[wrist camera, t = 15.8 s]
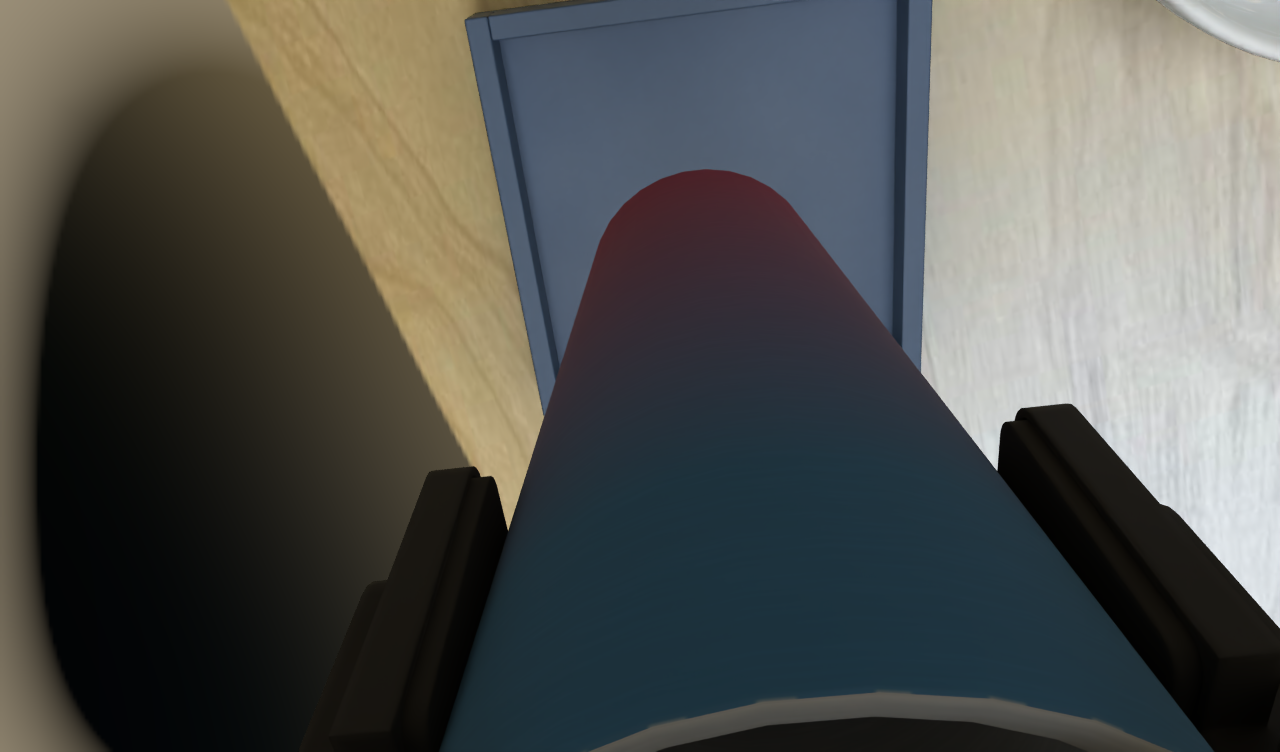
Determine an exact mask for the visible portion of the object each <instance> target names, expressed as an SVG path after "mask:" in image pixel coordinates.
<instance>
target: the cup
mask: <svg viewBox="0 0 1280 752" xmlns="http://www.w3.org/2000/svg"><path fill="white" fill-rule="evenodd" d="M439 752H1214V751H1213V749H1212V748H1211V747H1210V746H1209V744H1208V743H1207V742H1206V740H1205V739H1204V738H1203V736H1202V735H1201V734H1200V733H1199V731H1198V730H1197V729H1196V727H1195V726H1194V725H1193V724H1192V722H1191V721H1190V720H1189V718H1188V717H1187V716H1186V715H1185V713H1184V712H1183V711H1182V709H1181V708H1180V707H1179V706H1178V704H1177V703H1176V702H1175V700H1174V699H1173V698H1172V696H1171V695H1170V694H1169V693H1168V691H1167V690H1166V689H1165V687H1164V686H1163V685H1162V684H1161V682H1160V681H1159V680H1158V678H1157V677H1156V676H1155V675H1154V673H1153V672H1152V671H1151V669H1150V668H1149V667H1148V665H1147V664H1146V663H1145V662H1144V660H1143V659H1142V658H1141V656H1140V655H1139V654H1138V653H1137V651H1136V650H1135V649H1134V647H1133V646H1132V645H1131V644H1130V642H1129V641H1128V640H1127V638H1126V637H1125V636H1124V634H1123V633H1122V632H1121V631H1120V629H1119V628H1118V627H1117V625H1116V624H1115V623H1114V622H1113V620H1112V619H1111V618H1110V616H1109V615H1108V614H1107V613H1106V611H1105V610H1104V609H1103V607H1102V606H1101V605H1100V604H1099V602H1098V601H1097V600H1096V598H1095V597H1094V596H1093V594H1092V593H1091V592H1090V591H1089V589H1088V588H1087V587H1086V585H1085V584H1084V583H1083V582H1082V580H1081V579H1080V578H1079V576H1078V575H1077V574H1076V573H1075V571H1074V570H1073V569H1072V567H1071V566H1070V565H1069V563H1068V562H1067V561H1066V560H1065V558H1064V557H1063V556H1062V554H1061V553H1060V552H1059V551H1058V549H1057V548H1056V547H1055V545H1054V544H1053V543H1052V542H1051V540H1050V539H1049V538H1048V536H1047V535H1046V534H1045V532H1044V531H1043V530H1042V529H1041V527H1040V526H1039V525H1038V523H1037V522H1036V521H1035V520H1034V518H1033V517H1032V516H1031V514H1030V513H1029V512H1028V511H1027V509H1026V508H1025V507H1024V505H1023V504H1022V503H1021V502H1020V500H1019V499H1018V498H1017V496H1016V495H1015V494H1014V492H1013V491H1012V490H1011V489H1010V487H1009V486H1008V485H1007V483H1006V482H1005V481H1004V480H1003V478H1002V477H1001V476H1000V474H999V473H998V472H997V471H996V469H995V468H994V467H993V465H992V464H991V463H990V461H989V460H988V459H987V458H986V456H985V455H984V454H983V452H982V451H981V450H980V449H979V447H978V446H977V445H976V443H975V442H974V441H973V440H972V438H971V437H970V436H969V434H968V433H967V432H966V430H965V429H964V428H963V427H962V425H961V424H960V423H959V421H958V420H957V419H956V418H955V416H954V415H953V414H952V412H951V411H950V410H949V409H948V407H947V406H946V405H945V403H944V402H943V401H942V400H941V398H940V397H939V396H938V394H937V393H936V392H935V390H934V389H933V388H932V387H931V385H930V384H929V383H928V381H927V380H926V379H925V378H924V376H923V375H922V374H921V372H920V371H919V370H918V369H917V367H916V366H915V365H914V363H913V362H912V361H911V359H910V358H909V357H908V356H907V354H906V353H905V352H904V350H903V349H902V348H901V347H900V345H899V344H898V343H897V341H896V340H895V339H894V338H893V336H892V335H891V334H890V332H889V331H888V330H887V328H886V327H885V326H884V325H883V323H882V322H881V321H880V319H879V318H878V317H877V316H876V314H875V313H874V312H873V310H872V309H871V308H870V307H869V305H868V304H867V303H866V301H865V300H864V299H863V297H862V296H861V295H860V294H859V292H858V291H857V290H856V288H855V287H854V286H853V285H852V283H851V282H850V281H849V279H848V278H847V277H846V276H845V274H844V273H843V272H842V270H841V269H840V268H839V267H838V265H837V264H836V263H835V261H834V260H833V259H832V257H831V256H830V255H829V254H828V252H827V251H826V250H825V248H824V247H823V246H822V245H821V243H820V242H819V241H818V239H817V238H816V237H815V236H814V234H813V233H812V232H811V230H810V229H809V228H808V226H807V225H806V224H805V223H804V221H803V220H802V219H801V217H800V216H799V215H798V214H797V212H796V211H795V210H794V209H793V207H792V206H791V205H790V204H789V202H788V201H787V200H786V199H784V198H783V197H782V196H781V195H779V194H778V193H777V192H776V191H775V190H773V189H772V188H771V187H769V186H767V185H765V184H763V183H761V182H759V181H758V180H756V179H754V178H752V177H749V176H745V175H742V174H738V173H735V172H731V171H725V170H712V169H702V170H693V171H685V172H680V173H677V174H674V175H671V176H668V177H665V178H662V179H659V180H658V181H656V182H654V183H652V184H650V185H649V186H647V187H645V188H643V189H641V190H640V191H639V192H638V193H636V194H635V195H634V196H633V197H632V198H630V199H629V200H628V201H627V202H626V203H624V204H623V205H622V207H621V208H620V209H619V210H618V212H617V213H616V214H615V215H614V217H613V218H612V219H611V220H610V222H609V224H608V226H607V228H606V230H605V232H604V234H603V236H602V237H601V239H600V242H599V245H598V248H597V251H596V254H595V258H594V261H593V264H592V267H591V270H590V274H589V277H588V280H587V283H586V286H585V289H584V293H583V296H582V299H581V302H580V305H579V308H578V312H577V315H576V318H575V321H574V324H573V327H572V331H571V334H570V337H569V340H568V343H567V347H566V350H565V353H564V356H563V359H562V362H561V366H560V369H559V372H558V375H557V378H556V381H555V385H554V388H553V391H552V394H551V397H550V400H549V404H548V407H547V410H546V413H545V416H544V420H543V423H542V426H541V429H540V432H539V435H538V439H537V442H536V445H535V448H534V451H533V454H532V458H531V461H530V464H529V467H528V470H527V474H526V477H525V480H524V483H523V486H522V489H521V493H520V496H519V499H518V502H517V505H516V508H515V512H514V515H513V518H512V521H511V524H510V527H509V531H508V534H507V537H506V540H505V543H504V547H503V550H502V553H501V556H500V559H499V562H498V566H497V569H496V572H495V575H494V578H493V581H492V585H491V588H490V591H489V594H488V597H487V601H486V604H485V607H484V610H483V613H482V616H481V620H480V623H479V626H478V629H477V632H476V635H475V639H474V642H473V645H472V648H471V651H470V654H469V658H468V661H467V664H466V667H465V670H464V674H463V677H462V680H461V683H460V686H459V689H458V693H457V696H456V699H455V702H454V705H453V708H452V712H451V715H450V718H449V721H448V724H447V728H446V731H445V734H444V737H443V740H442V743H441V747H440V750H439Z"/></svg>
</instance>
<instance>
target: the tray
mask: <svg viewBox="0 0 1280 752" xmlns="http://www.w3.org/2000/svg"><path fill="white" fill-rule="evenodd" d="M465 26H466V31H467V36H468V41H469V46H470V51H471V56H472V61H473V66H474V71H475V76H476V81H477V86H478V91H479V96H480V101H481V106H482V111H483V116H484V121H485V126H486V131H487V136H488V141H489V146H490V151H491V156H492V161H493V166H494V171H495V175H496V180H497V185H498V190H499V195H500V200H501V205H502V210H503V215H504V220H505V225H506V230H507V235H508V240H509V245H510V250H511V255H512V260H513V265H514V270H515V275H516V280H517V285H518V290H519V295H520V300H521V305H522V310H523V315H524V320H525V325H526V330H527V335H528V340H529V345H530V350H531V355H532V360H533V365H534V370H535V375H536V380H537V385H538V390H539V395H540V400H541V405H542V410H543V415H544V416H545V413H546V410H547V407H548V404H549V400H550V397H551V394H552V391H553V388H554V385H555V381H556V378H557V375H558V372H559V369H560V366H561V362H562V359H563V356H564V353H565V350H566V347H567V343H568V340H569V337H570V334H571V331H572V327H573V324H574V321H575V318H576V315H577V312H578V308H579V305H580V302H581V299H582V296H583V293H584V289H585V286H586V283H587V280H588V277H589V274H590V270H591V267H592V264H593V261H594V258H595V254H596V251H597V248H598V245H599V242H600V239H601V237H602V236H603V234H604V232H605V230H606V228H607V226H608V224H609V222H610V220H611V219H612V218H613V217H614V215H615V214H616V213H617V212H618V210H619V209H620V208H621V207H622V205H623V204H624V203H626V202H627V201H628V200H629V199H630V198H632V197H633V196H634V195H635V194H636V193H638V192H639V191H640V190H641V189H643V188H645V187H647V186H649V185H650V184H652V183H654V182H656V181H658V180H659V179H662V178H665V177H668V176H671V175H674V174H677V173H680V172H685V171H693V170H702V169H712V170H725V171H731V172H735V173H738V174H742V175H745V176H749V177H752V178H754V179H756V180H758V181H759V182H761V183H763V184H765V185H767V186H769V187H771V188H772V189H773V190H775V191H776V192H777V193H778V194H779V195H781V196H782V197H783V198H784V199H786V200H787V201H788V202H789V204H790V205H791V206H792V207H793V209H794V210H795V211H796V212H797V214H798V215H799V216H800V217H801V219H802V220H803V221H804V223H805V224H806V225H807V226H808V228H809V229H810V230H811V232H812V233H813V234H814V236H815V237H816V238H817V239H818V241H819V242H820V243H821V245H822V246H823V247H824V248H825V250H826V251H827V252H828V254H829V255H830V256H831V257H832V259H833V260H834V261H835V263H836V264H837V265H838V267H839V268H840V269H841V270H842V272H843V273H844V274H845V276H846V277H847V278H848V279H849V281H850V282H851V283H852V285H853V286H854V287H855V288H856V290H857V291H858V292H859V294H860V295H861V296H862V297H863V299H864V300H865V301H866V303H867V304H868V305H869V307H870V308H871V309H872V310H873V312H874V313H875V314H876V316H877V317H878V318H879V319H880V321H881V322H882V323H883V325H884V326H885V327H886V328H887V330H888V331H889V332H890V334H891V335H892V336H893V338H894V339H895V340H896V341H897V343H898V344H899V345H900V347H901V348H902V349H903V350H904V352H905V353H906V354H907V356H908V357H909V358H910V359H911V361H912V362H913V363H914V365H915V366H916V367H917V369H918V370H919V371H920V372H921V348H922V316H923V284H924V252H925V220H926V188H927V156H928V124H929V92H930V60H931V28H932V0H571V1H563V2H555V3H548V4H540V5H533V6H525V7H518V8H510V9H502V10H495V11H487V12H480V13H475V14H473V15H472V16H470V17H468V18H467V19H465Z"/></svg>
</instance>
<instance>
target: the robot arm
mask: <svg viewBox="0 0 1280 752" xmlns="http://www.w3.org/2000/svg"><path fill="white" fill-rule="evenodd" d="M997 472H998V473H999V474H1000V476H1001V477H1002V478H1003V480H1004V481H1005V482H1006V483H1007V485H1008V486H1009V487H1010V489H1011V490H1012V491H1013V492H1014V494H1015V495H1016V496H1017V498H1018V499H1019V500H1020V502H1021V503H1022V504H1023V505H1024V507H1025V508H1026V509H1027V511H1028V512H1029V513H1030V514H1031V516H1032V517H1033V518H1034V520H1035V521H1036V522H1037V523H1038V525H1039V526H1040V527H1041V529H1042V530H1043V531H1044V532H1045V534H1046V535H1047V536H1048V538H1049V539H1050V540H1051V542H1052V543H1053V544H1054V545H1055V547H1056V548H1057V549H1058V551H1059V552H1060V553H1061V554H1062V556H1063V557H1064V558H1065V560H1066V561H1067V562H1068V563H1069V565H1070V566H1071V567H1072V569H1073V570H1074V571H1075V573H1076V574H1077V575H1078V576H1079V578H1080V579H1081V580H1082V582H1083V583H1084V584H1085V585H1086V587H1087V588H1088V589H1089V591H1090V592H1091V593H1092V594H1093V596H1094V597H1095V598H1096V600H1097V601H1098V602H1099V604H1100V605H1101V606H1102V607H1103V609H1104V610H1105V611H1106V613H1107V614H1108V615H1109V616H1110V618H1111V619H1112V620H1113V622H1114V623H1115V624H1116V625H1117V627H1118V628H1119V629H1120V631H1121V632H1122V633H1123V634H1124V636H1125V637H1126V638H1127V640H1128V641H1129V642H1130V644H1131V645H1132V646H1133V647H1134V649H1135V650H1136V651H1137V653H1138V654H1139V655H1140V656H1141V658H1142V659H1143V660H1144V662H1145V663H1146V664H1147V665H1148V667H1149V668H1150V669H1151V671H1152V672H1153V673H1154V675H1155V676H1156V677H1157V678H1158V680H1159V681H1160V682H1161V684H1162V685H1163V686H1164V687H1165V689H1166V690H1167V691H1168V693H1169V694H1170V695H1171V696H1172V698H1173V699H1174V700H1175V702H1176V703H1177V704H1178V706H1179V707H1180V708H1181V709H1182V711H1183V712H1184V713H1185V715H1186V716H1187V717H1188V718H1189V720H1190V721H1191V722H1192V724H1193V725H1194V726H1195V727H1196V729H1197V730H1198V731H1199V733H1200V734H1201V735H1202V736H1203V738H1204V739H1205V740H1206V742H1207V743H1208V744H1209V746H1210V747H1211V748H1212V749H1213V751H1214V752H1280V628H1279V627H1278V626H1277V625H1276V624H1275V623H1274V621H1273V620H1272V619H1271V618H1270V617H1269V616H1268V615H1267V614H1266V612H1265V611H1264V610H1263V609H1262V608H1261V607H1260V606H1259V605H1258V603H1257V602H1256V601H1255V600H1254V599H1253V598H1252V597H1251V596H1250V594H1249V593H1248V592H1247V591H1246V590H1245V589H1244V588H1243V587H1242V585H1241V584H1240V583H1239V582H1238V581H1237V580H1236V579H1235V578H1234V576H1233V575H1232V574H1231V573H1230V572H1229V571H1228V570H1227V569H1226V567H1225V566H1224V565H1223V564H1222V563H1221V562H1220V561H1219V560H1218V558H1217V557H1216V556H1215V555H1214V554H1213V553H1212V552H1211V551H1210V549H1209V548H1208V547H1207V546H1206V545H1205V544H1204V543H1203V542H1202V540H1201V539H1200V538H1199V537H1198V536H1197V535H1196V534H1195V533H1194V531H1193V530H1192V529H1191V528H1190V527H1189V526H1188V525H1187V524H1186V522H1185V521H1184V520H1183V519H1182V518H1181V517H1180V516H1179V515H1178V514H1177V513H1176V512H1175V511H1174V510H1172V509H1171V508H1170V507H1168V506H1165V505H1162V504H1160V503H1159V502H1158V501H1157V500H1156V499H1155V498H1154V496H1153V495H1152V494H1151V493H1150V492H1149V491H1148V490H1147V488H1146V487H1145V486H1144V485H1143V484H1142V483H1141V482H1140V480H1139V479H1138V478H1137V477H1136V476H1135V475H1134V474H1133V472H1132V471H1131V470H1130V469H1129V468H1128V467H1127V466H1126V464H1125V463H1124V462H1123V461H1122V460H1121V459H1120V458H1119V456H1118V455H1117V454H1116V453H1115V452H1114V451H1113V450H1112V448H1111V447H1110V446H1109V445H1108V444H1107V443H1106V442H1105V440H1104V439H1103V438H1102V437H1101V436H1100V435H1099V433H1098V432H1097V431H1096V430H1095V429H1094V428H1093V427H1092V425H1091V424H1090V423H1089V422H1088V421H1087V420H1086V419H1085V417H1084V416H1083V415H1082V414H1081V413H1080V412H1079V411H1078V409H1077V408H1076V407H1074V406H1073V405H1072V404H1058V405H1048V406H1039V407H1029V408H1021V409H1020V410H1019V411H1018V412H1017V414H1016V417H1015V421H1010V422H1005V423H1004V424H1003V425H1002V428H1001V433H1000V445H999V458H998V471H997ZM507 534H508V529H507V525H506V521H505V517H504V513H503V509H502V505H501V501H500V497H499V493H498V489H497V485H496V482H495V480H494V478H493V477H492V476H487V477H481V476H480V473H479V472H478V470H477V468H476V467H474V466H473V467H463V468H454V469H445V470H435V471H431V472H429V473H428V475H427V477H426V480H425V482H424V485H423V488H422V490H421V493H420V495H419V498H418V501H417V503H416V506H415V509H414V511H413V514H412V517H411V519H410V522H409V524H408V527H407V530H406V532H405V535H404V538H403V540H402V543H401V546H400V549H399V551H398V554H397V556H396V559H395V562H394V564H393V567H392V570H391V572H390V575H389V577H388V580H384V581H374V582H372V583H371V584H369V585H368V586H367V587H366V589H365V591H364V592H363V594H362V596H361V599H360V601H359V604H358V606H357V609H356V611H355V614H354V616H353V618H352V621H351V623H350V626H349V628H348V631H347V633H346V636H345V638H344V641H343V643H342V645H341V648H340V651H339V653H338V655H337V658H336V660H335V663H334V665H333V668H332V670H331V672H330V675H329V677H328V680H327V682H326V685H325V687H324V690H323V692H322V695H321V697H320V699H319V702H318V704H317V707H316V709H315V712H314V714H313V717H312V719H311V722H310V724H309V726H308V729H307V731H306V734H305V736H304V739H303V741H302V744H301V746H300V749H299V751H298V752H439V750H440V747H441V743H442V740H443V737H444V734H445V731H446V728H447V724H448V721H449V718H450V715H451V712H452V708H453V705H454V702H455V699H456V696H457V693H458V689H459V686H460V683H461V680H462V677H463V674H464V670H465V667H466V664H467V661H468V658H469V654H470V651H471V648H472V645H473V642H474V639H475V635H476V632H477V629H478V626H479V623H480V620H481V616H482V613H483V610H484V607H485V604H486V601H487V597H488V594H489V591H490V588H491V585H492V581H493V578H494V575H495V572H496V569H497V566H498V562H499V559H500V556H501V553H502V550H503V547H504V543H505V540H506V537H507Z"/></svg>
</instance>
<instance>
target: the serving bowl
mask: <svg viewBox="0 0 1280 752" xmlns="http://www.w3.org/2000/svg"><path fill="white" fill-rule="evenodd" d="M1157 1H1158V2H1159V3H1161V4H1162V5H1163V6H1165V7H1166V8H1167V9H1169V10H1170V11H1171V12H1173V13H1174V14H1175V15H1177V16H1178V17H1180V18H1182V19H1183V20H1185V21H1187V22H1188V23H1190V24H1192V25H1193V26H1195V27H1197V28H1199V29H1200V30H1202V31H1204V32H1205V33H1207V34H1209V35H1211V36H1213V37H1215V38H1216V39H1218V40H1220V41H1222V42H1224V43H1226V44H1229V45H1231V46H1233V47H1236V48H1238V49H1241V50H1243V51H1246V52H1248V53H1251V54H1253V55H1257V56H1260V57H1263V58H1267V59H1270V60H1273V61H1277V62H1280V0H1157Z"/></svg>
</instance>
